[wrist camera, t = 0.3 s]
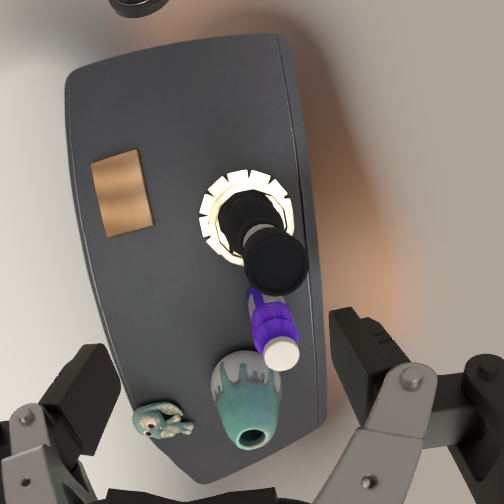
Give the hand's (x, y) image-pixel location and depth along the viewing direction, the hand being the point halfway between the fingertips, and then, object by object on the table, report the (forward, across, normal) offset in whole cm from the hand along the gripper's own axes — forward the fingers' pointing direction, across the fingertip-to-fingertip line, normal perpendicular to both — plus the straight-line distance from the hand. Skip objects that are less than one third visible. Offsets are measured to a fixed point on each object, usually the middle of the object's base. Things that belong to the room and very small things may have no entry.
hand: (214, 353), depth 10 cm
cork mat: (+38, +16, -5) cm, 42 cm away
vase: (+37, +3, +28) cm, 47 cm away
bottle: (+38, -2, +16) cm, 41 cm away
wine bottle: (+39, -2, +2) cm, 39 cm away
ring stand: (+38, -2, +2) cm, 39 cm away
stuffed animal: (+36, +21, +37) cm, 55 cm away
